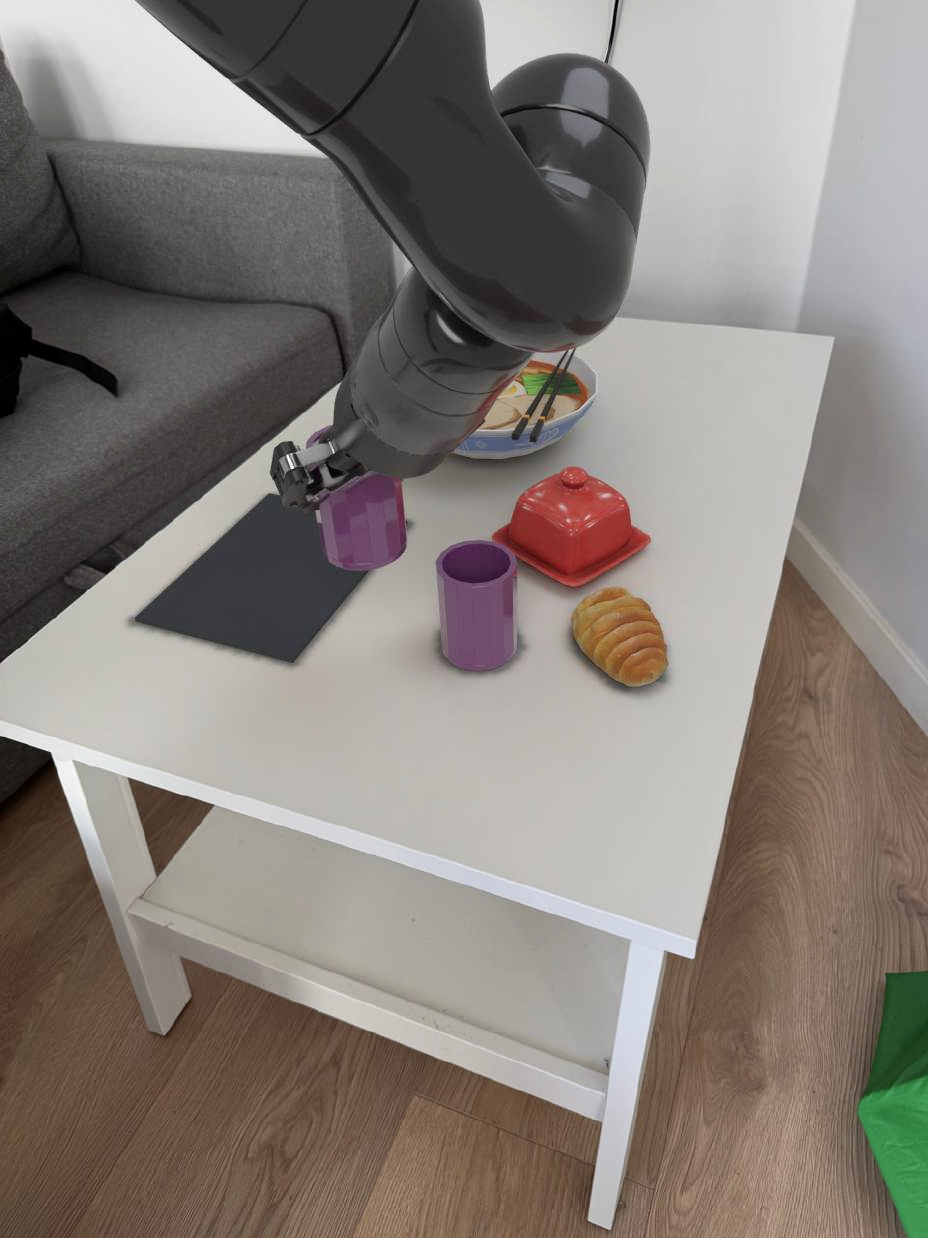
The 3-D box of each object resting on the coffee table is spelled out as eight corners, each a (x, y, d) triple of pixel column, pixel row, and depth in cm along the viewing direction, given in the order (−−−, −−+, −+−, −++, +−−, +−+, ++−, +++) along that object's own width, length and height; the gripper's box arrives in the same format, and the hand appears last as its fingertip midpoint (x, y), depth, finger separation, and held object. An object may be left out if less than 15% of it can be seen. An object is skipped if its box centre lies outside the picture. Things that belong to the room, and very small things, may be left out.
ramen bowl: (436, 385, 115) (432, 322, 110) (617, 405, 109) (621, 338, 104) (357, 485, 97) (347, 414, 92) (568, 515, 91) (571, 440, 85)
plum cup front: (340, 580, 64) (324, 473, 58) (310, 537, 68) (293, 434, 63) (421, 555, 66) (412, 449, 60) (387, 515, 70) (376, 412, 65)
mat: (292, 662, 75) (291, 659, 75) (135, 621, 80) (134, 617, 80) (407, 523, 91) (407, 520, 90) (269, 496, 96) (269, 492, 95)
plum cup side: (463, 680, 73) (458, 596, 67) (429, 637, 77) (422, 554, 72) (530, 655, 75) (531, 570, 69) (494, 614, 79) (492, 531, 74)
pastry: (688, 680, 72) (694, 643, 69) (609, 702, 70) (612, 665, 68) (634, 610, 79) (637, 574, 76) (561, 629, 77) (562, 593, 75)
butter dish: (657, 549, 85) (666, 469, 80) (572, 602, 80) (576, 519, 74) (568, 503, 92) (571, 426, 87) (484, 548, 87) (481, 469, 81)
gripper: (500, 297, 53) (414, 410, 68) (269, 357, 47) (231, 466, 63) (552, 414, 53) (454, 502, 68) (326, 489, 47) (274, 566, 62)
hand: (347, 485), depth 65 cm, fingers closed on plum cup front, 6 cm apart
